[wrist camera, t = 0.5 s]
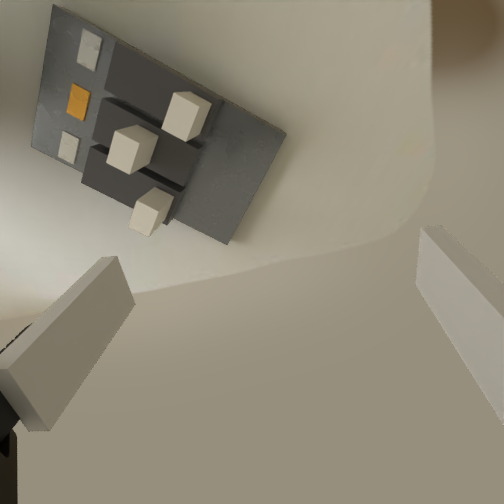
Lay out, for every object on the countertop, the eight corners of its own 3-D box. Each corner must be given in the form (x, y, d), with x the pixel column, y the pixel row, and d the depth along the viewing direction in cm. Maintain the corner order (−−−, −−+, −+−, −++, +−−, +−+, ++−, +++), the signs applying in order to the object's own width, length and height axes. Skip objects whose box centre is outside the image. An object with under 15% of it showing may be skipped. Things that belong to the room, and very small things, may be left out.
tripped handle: (128, 153, 32) (106, 162, 28) (137, 124, 31) (115, 130, 27) (149, 163, 33) (129, 174, 29) (158, 135, 31) (139, 143, 27)
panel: (40, 144, 37) (29, 146, 35) (63, 7, 30) (51, 3, 29) (229, 239, 40) (226, 245, 38) (286, 133, 33) (286, 135, 32)
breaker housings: (91, 177, 36) (52, 195, 30) (125, 43, 30) (85, 33, 24) (172, 218, 38) (150, 243, 32) (223, 98, 31) (207, 101, 25)
